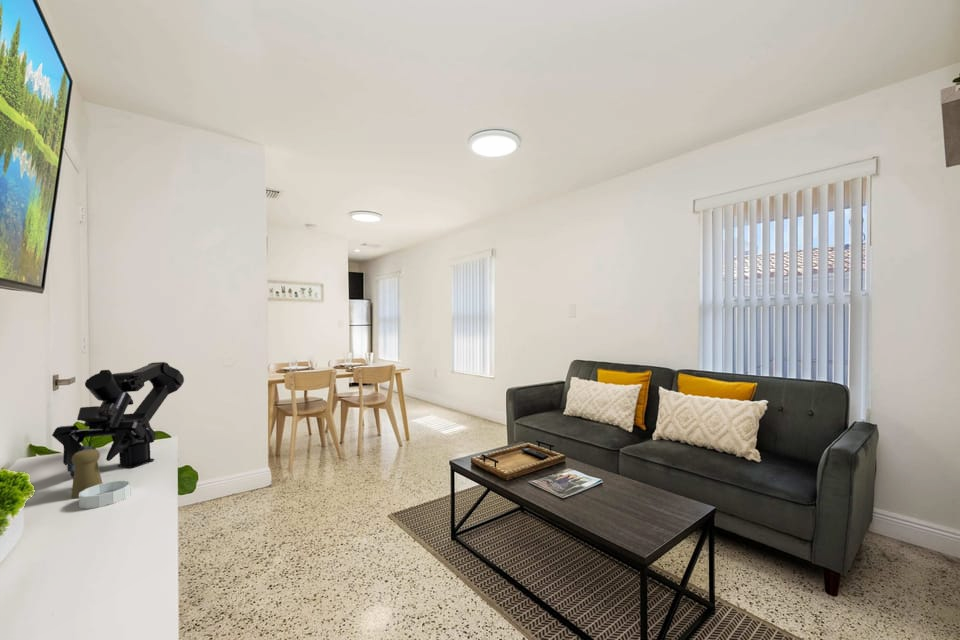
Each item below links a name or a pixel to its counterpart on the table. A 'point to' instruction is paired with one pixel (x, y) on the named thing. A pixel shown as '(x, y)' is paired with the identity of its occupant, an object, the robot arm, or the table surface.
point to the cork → (85, 471)
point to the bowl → (104, 494)
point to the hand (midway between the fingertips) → (86, 462)
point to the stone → (71, 466)
